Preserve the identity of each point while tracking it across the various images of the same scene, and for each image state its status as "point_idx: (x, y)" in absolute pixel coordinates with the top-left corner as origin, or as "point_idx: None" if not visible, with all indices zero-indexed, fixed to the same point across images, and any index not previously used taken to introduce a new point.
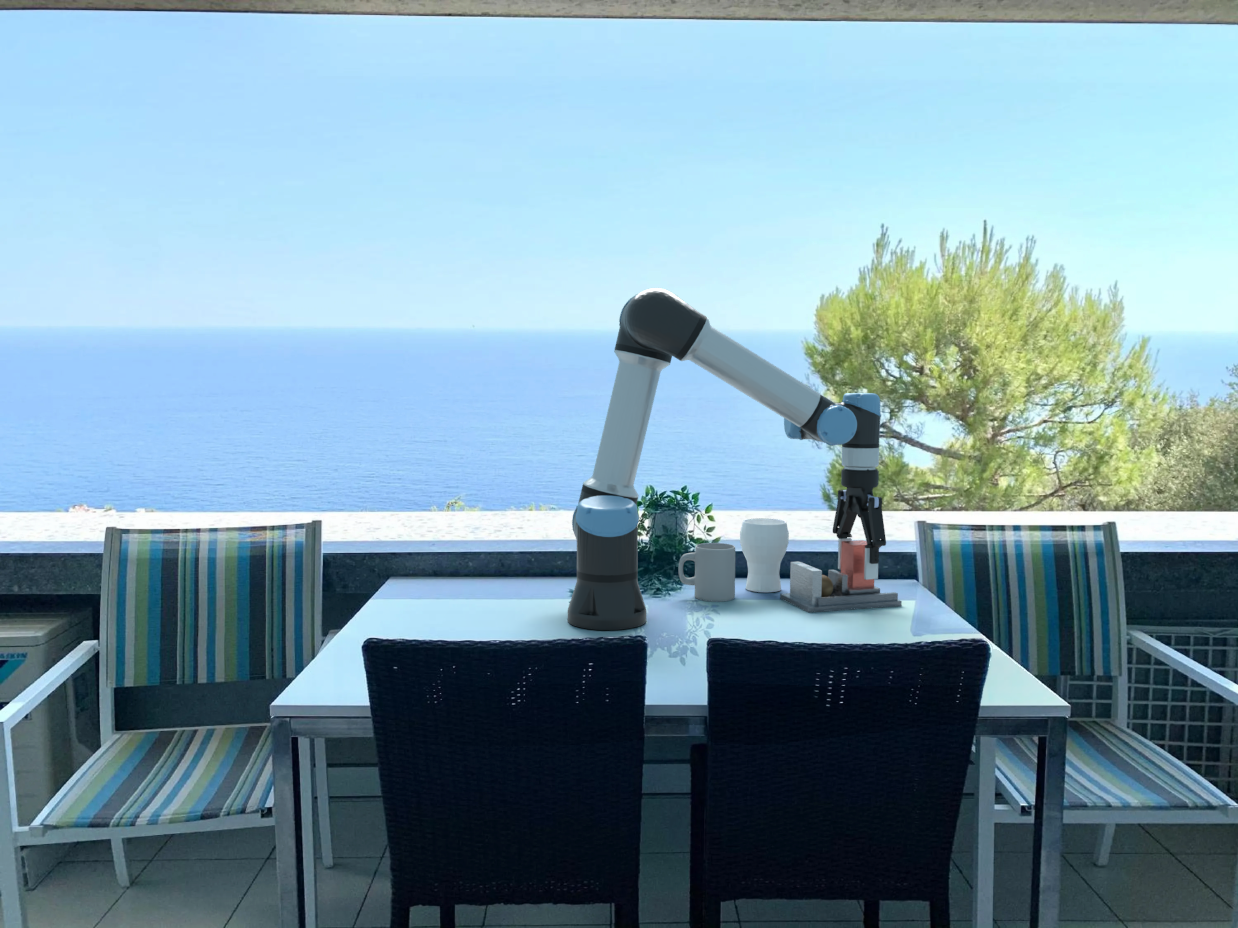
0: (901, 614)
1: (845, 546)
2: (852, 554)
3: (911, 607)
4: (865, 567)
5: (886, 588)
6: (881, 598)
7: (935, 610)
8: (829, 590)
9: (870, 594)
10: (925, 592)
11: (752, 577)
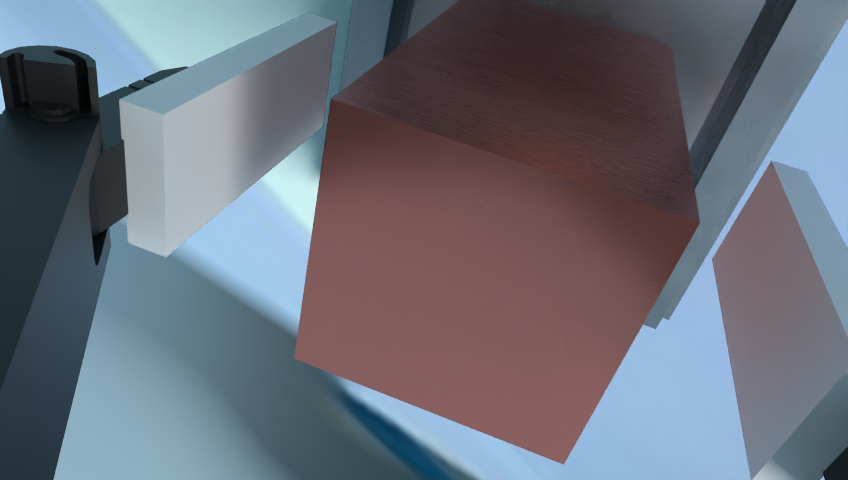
0: (187, 33)
1: (574, 152)
2: (401, 65)
3: (291, 197)
4: (273, 42)
5: (667, 434)
6: None
7: (208, 232)
8: None
9: (369, 44)
10: (489, 467)
11: None
